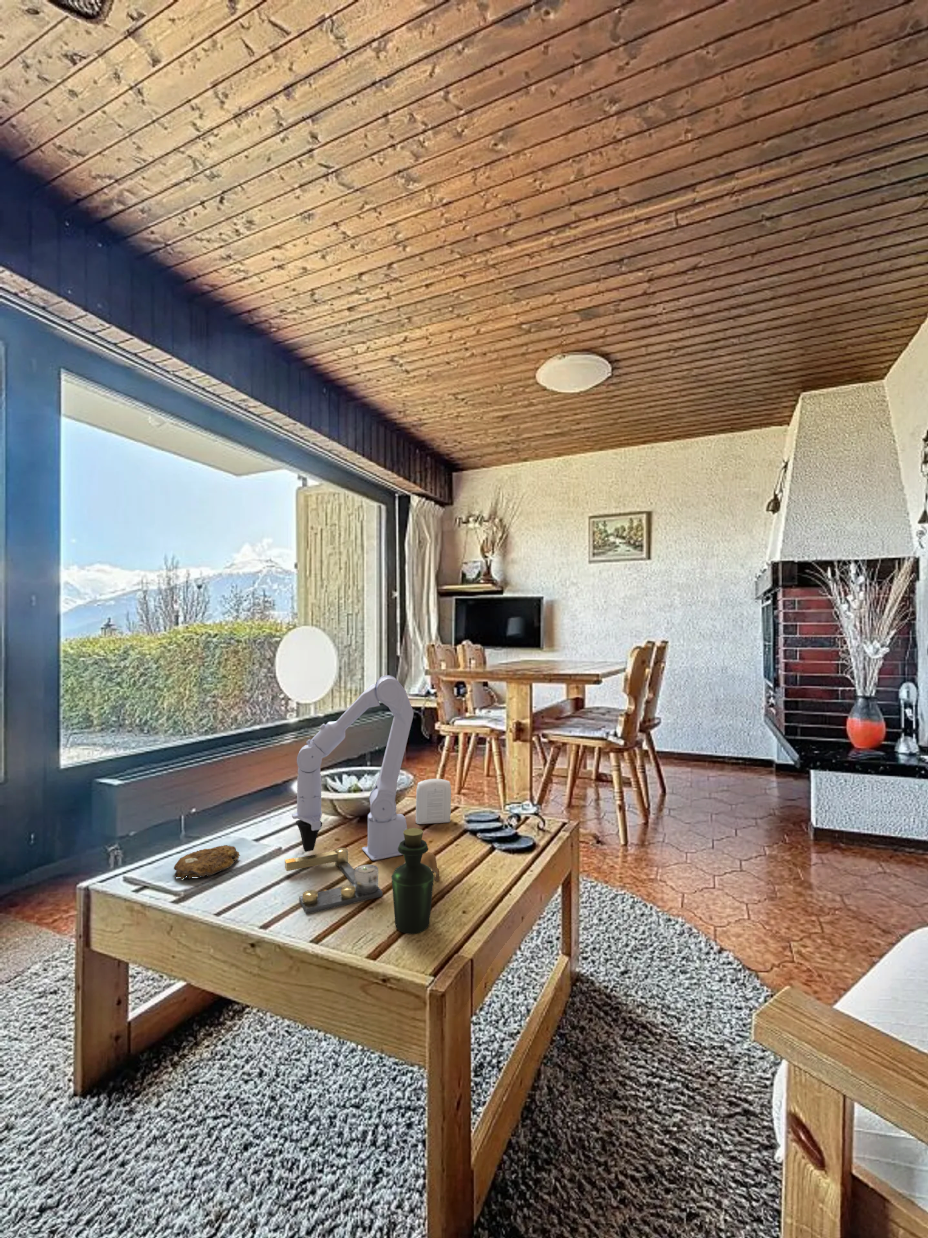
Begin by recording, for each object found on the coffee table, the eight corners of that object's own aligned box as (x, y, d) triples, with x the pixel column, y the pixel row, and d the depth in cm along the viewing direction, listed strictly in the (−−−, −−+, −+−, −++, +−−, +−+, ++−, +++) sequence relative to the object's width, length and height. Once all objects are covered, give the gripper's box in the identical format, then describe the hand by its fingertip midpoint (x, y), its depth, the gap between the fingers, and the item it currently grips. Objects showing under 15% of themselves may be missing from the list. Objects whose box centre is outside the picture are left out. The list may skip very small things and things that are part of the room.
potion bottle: (389, 937, 107) (390, 840, 106) (392, 914, 115) (393, 824, 115) (433, 936, 107) (434, 839, 107) (433, 914, 115) (434, 824, 115)
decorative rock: (217, 854, 144) (163, 881, 131) (216, 838, 144) (162, 862, 131) (251, 860, 140) (199, 888, 126) (250, 843, 140) (198, 869, 126)
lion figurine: (420, 906, 118) (421, 862, 118) (396, 902, 120) (396, 859, 120) (443, 876, 132) (443, 836, 132) (421, 872, 134) (422, 834, 134)
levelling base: (355, 864, 138) (355, 840, 138) (382, 896, 122) (382, 869, 122) (287, 878, 130) (287, 853, 130) (306, 914, 114) (306, 885, 114)
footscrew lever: (345, 859, 140) (345, 847, 140) (349, 864, 137) (349, 851, 137) (284, 872, 133) (284, 858, 133) (287, 877, 130) (287, 863, 130)
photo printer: (448, 818, 171) (449, 776, 171) (452, 823, 166) (452, 780, 166) (414, 820, 168) (414, 778, 168) (416, 826, 164) (417, 782, 164)
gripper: (286, 789, 146) (285, 842, 146) (299, 805, 133) (298, 864, 133) (314, 785, 149) (313, 838, 149) (329, 801, 137) (329, 858, 137)
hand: (308, 850), depth 141 cm, fingers closed
